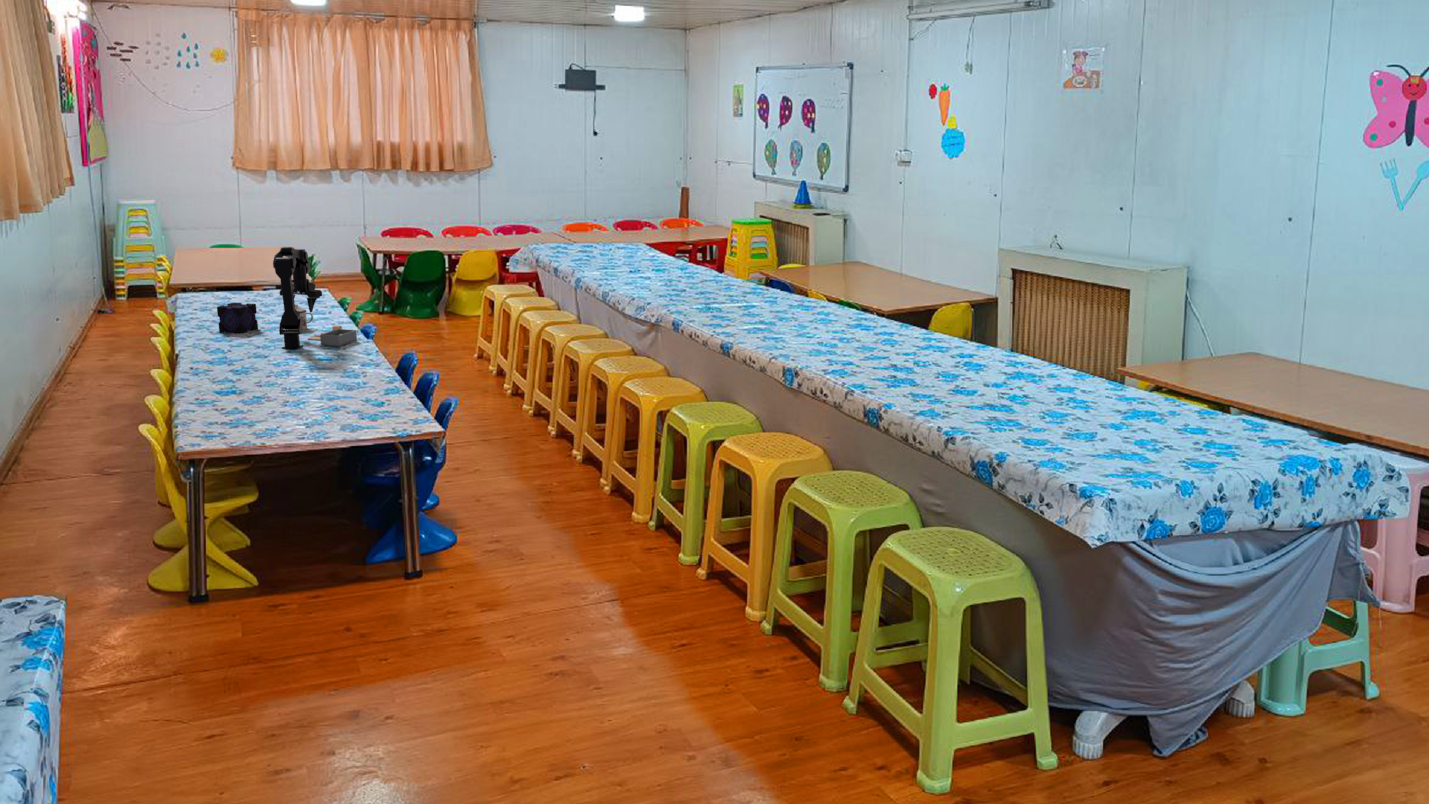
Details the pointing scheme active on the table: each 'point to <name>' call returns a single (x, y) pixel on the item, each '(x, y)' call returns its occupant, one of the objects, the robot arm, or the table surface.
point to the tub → (338, 338)
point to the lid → (317, 337)
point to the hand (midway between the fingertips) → (302, 311)
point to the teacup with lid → (303, 316)
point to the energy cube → (237, 318)
